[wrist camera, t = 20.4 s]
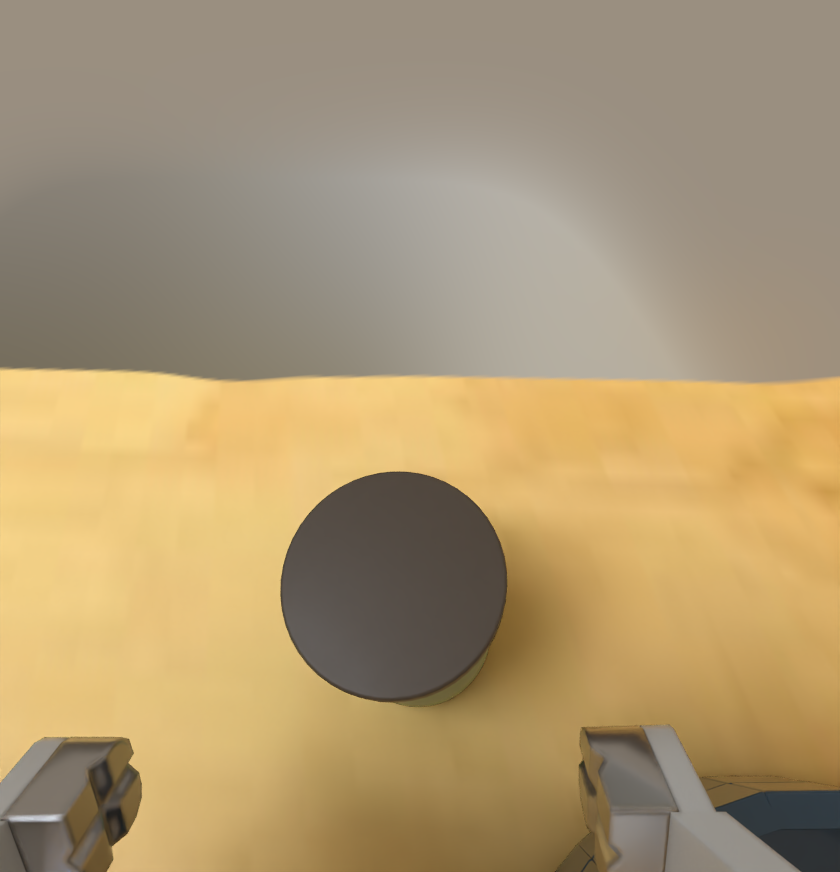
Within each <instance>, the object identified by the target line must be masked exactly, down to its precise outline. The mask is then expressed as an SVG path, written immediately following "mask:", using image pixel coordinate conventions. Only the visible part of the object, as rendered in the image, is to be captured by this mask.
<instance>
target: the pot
mask: <svg viewBox="0 0 840 872" xmlns="http://www.w3.org/2000/svg"><path fill="white" fill-rule="evenodd" d="M699 779H700V781H701V783H702V785H703V787H704V788H705V790H706V792H707V794H708V796H709V798H710V800H711V802H712V804H713V806H714V808H715V810H716V812H727V813H728V814H729V815H730V816H732V817H733V818H734V819H736V820H737V821H738V822H739V823H741V824H742V825H743V826H744V827H746V828H747V829H748V830H749V831H751V832H752V833H753V834H754V835H756V836H757V837H758V838H759V839H761V840H762V841H763V842H764V843H766V844H767V845H768V846H769V847H771V848H772V849H773V850H774V851H776V852H777V853H778V854H779V855H781V856H782V857H783V858H784V859H786V860H787V861H788V862H789V863H791V864H792V865H793V866H794V867H796V868H797V869H798V870H799V871H801V872H840V787H837V786H831V785H825V784H819V783H812V782H807V781H801V780H795V779H789V778H783V777H777V776H723V777H702V778H700V777H699ZM594 847H595V836H594V835H593V834H592V833H591V832H590V833H589V834H588V835H587V836H586V837H585V838H584V839H583V840H581V841H580V842H579V843H578V844H577V845H576V846H575V848H574V849H573V850H572V851H571V853H570V854H569V855H568V856H567V858H566V859H565V860H564V861H563V862H562V864H561V865H560V866H559V867H558V869H557V870H556V871H555V872H599V871H598V868H597V864H596V860H595V857H594Z"/></svg>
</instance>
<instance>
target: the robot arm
mask: <svg viewBox="0 0 840 872" xmlns="http://www.w3.org/2000/svg"><path fill="white" fill-rule="evenodd" d="M580 748H581V752H582V756H583V759H584V760H583V761H582V762H581V763H580V764H579V787H580V798H581V803H582V809H583V814H584V818H585V822H586V826H587V828H588V830H589V831H590V832H591V833H592V834H593V835H594V836H595V847H594V857H595V860H596V864H597V868H598V871H599V872H801V871H799V870H798V869H797V868H796V867H794V866H793V865H792V864H791V863H789V862H788V861H787V860H786V859H784V858H783V857H782V856H781V855H779V854H778V853H777V852H776V851H774V850H773V849H772V848H771V847H769V846H768V845H767V844H766V843H764V842H763V841H762V840H761V839H759V838H758V837H757V836H756V835H754V834H753V833H752V832H751V831H749V830H748V829H747V828H746V827H744V826H743V825H742V824H741V823H739V822H738V821H737V820H736V819H734V818H733V817H732V816H730V815H729V814H728V813H727V812H716V810H715V808H714V806H713V804H712V802H711V800H710V798H709V796H708V794H707V792H706V790H705V788H704V787H703V785H702V783H701V781H700V779H699V777H698V775H697V773H696V771H695V769H694V767H693V765H692V763H691V761H690V759H689V757H688V755H687V753H686V751H685V749H684V747H683V745H682V743H681V741H680V739H679V738H678V736H677V734H676V732H675V730H674V729H673V728H672V727H671V726H670V725H640V726H608V727H582V728H581V732H580ZM133 754H134V752H133V749H132V746H131V743H130V740H129V739H127V738H123V737H44V738H42V739H41V740H39V741H37V742H35V743H34V744H33V745H32V746H31V748H30V749H29V750H28V751H27V752H26V753H25V755H24V756H23V757H22V758H21V759H20V760H19V762H18V763H17V764H16V765H15V766H14V767H13V769H12V770H11V771H10V772H9V773H8V775H7V776H6V777H5V778H4V779H3V780H2V782H1V783H0V872H107V870H108V868H109V867H110V865H111V863H112V861H113V853H112V846H113V845H114V844H115V843H117V842H118V841H119V840H120V839H121V838H123V837H124V836H125V835H126V834H128V832H129V830H130V828H131V826H132V824H133V822H134V820H135V818H136V817H137V813H138V809H139V805H140V802H141V798H142V783H141V779H140V775H139V772H138V771H137V770H135V769H134V768H133V767H132V766H131V765H130V764H129V763H128V762H129V761H130V759H131V757H132V755H133Z"/></svg>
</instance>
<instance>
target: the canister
mask: <svg viewBox="0 0 840 872" xmlns="http://www.w3.org/2000/svg"><path fill="white" fill-rule="evenodd" d="M506 593H507V569H506V563H505V557H504V553H503V550H502V547H501V543H500V541H499V539H498V536H497V534H496V532H495V530H494V528H493V526H492V525H491V523H490V521H489V520H488V518H487V517H486V515H485V514H484V513H483V512H482V510H481V509H480V508H479V507H478V506H477V505H476V504H475V503H474V502H473V501H472V500H471V499H470V498H469V497H468V496H466V495H465V494H464V493H462V492H461V491H460V490H458V489H457V488H455V487H453V486H451V485H450V484H448V483H446V482H444V481H441V480H439V479H436V478H434V477H431V476H427V475H423V474H419V473H411V472H385V473H378V474H373V475H369V476H365V477H362V478H360V479H357V480H354V481H352V482H350V483H348V484H346V485H344V486H342V487H340V488H338V489H337V490H335V491H334V492H332V493H331V494H329V495H328V496H327V497H326V498H325V499H323V500H322V501H321V502H320V503H319V504H318V505H317V506H316V507H315V508H314V509H313V510H312V511H311V512H310V513H309V514H308V516H307V517H306V518H305V520H304V521H303V522H302V524H301V525H300V527H299V528H298V530H297V532H296V534H295V535H294V537H293V539H292V542H291V544H290V546H289V549H288V551H287V554H286V558H285V561H284V565H283V570H282V576H281V594H280V596H281V606H282V612H283V617H284V621H285V625H286V628H287V630H288V633H289V635H290V638H291V640H292V642H293V644H294V646H295V647H296V649H297V651H298V653H299V654H300V655H301V657H302V658H303V659H304V661H305V662H306V663H307V665H308V666H309V667H310V668H311V669H312V670H313V671H314V672H315V673H316V674H317V675H318V676H320V677H321V678H322V679H324V680H325V681H327V682H328V683H329V684H331V685H332V686H334V687H336V688H338V689H340V690H342V691H344V692H346V693H348V694H351V695H354V696H357V697H360V698H363V699H368V700H373V701H378V702H393V703H397V704H400V705H405V706H410V707H425V706H432V705H436V704H440V703H442V702H445V701H447V700H450V699H451V698H453V697H455V696H456V695H458V694H459V693H461V692H462V691H463V690H464V689H466V688H467V687H468V685H469V684H470V683H471V682H472V681H473V680H474V679H475V677H476V676H477V675H478V673H479V671H480V670H481V668H482V666H483V664H484V662H485V659H486V656H487V654H488V650H489V646H490V644H491V642H492V641H493V639H494V637H495V635H496V632H497V629H498V627H499V624H500V622H501V618H502V615H503V611H504V606H505V602H506Z"/></svg>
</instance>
